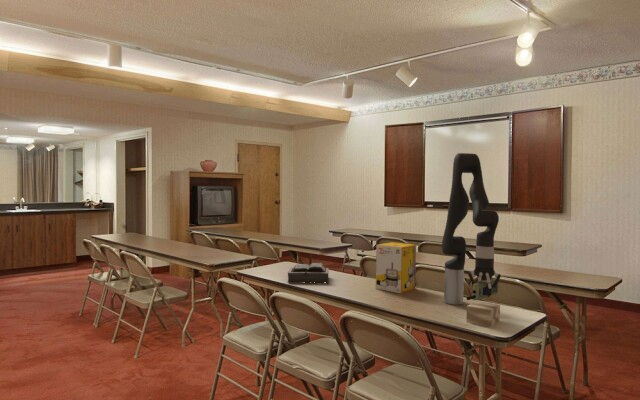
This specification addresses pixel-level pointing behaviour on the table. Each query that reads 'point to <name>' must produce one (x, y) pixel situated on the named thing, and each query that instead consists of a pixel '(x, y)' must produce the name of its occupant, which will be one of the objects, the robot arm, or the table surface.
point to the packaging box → (395, 267)
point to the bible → (308, 273)
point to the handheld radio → (482, 290)
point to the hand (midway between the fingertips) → (483, 296)
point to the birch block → (483, 313)
